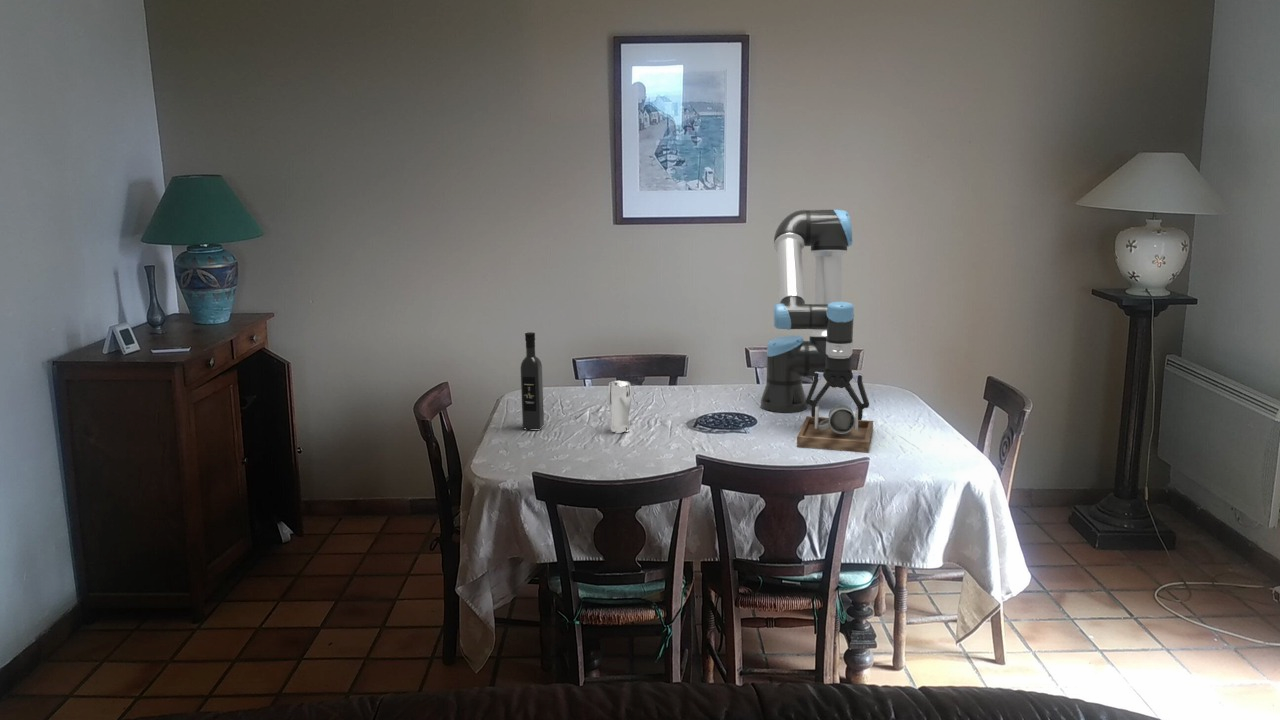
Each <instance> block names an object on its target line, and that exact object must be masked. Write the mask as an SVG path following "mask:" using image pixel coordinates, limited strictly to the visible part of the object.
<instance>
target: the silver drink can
mask: <svg viewBox="0 0 1280 720" xmlns="http://www.w3.org/2000/svg"><path fill="white" fill-rule="evenodd" d="M607 393H608V394H607V397H608V398H607V399H608V407H609V412H610V419H611V424H610V430H612V431H617V432H624V431H627V430H629V429H630V430H631V427H630V413H631V406H632V388H631V382H629V381H627V380H614V381H611V382H610V381H609V383H608V392H607Z"/></svg>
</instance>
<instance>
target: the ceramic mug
mask: <svg viewBox="0 0 1280 720" xmlns="http://www.w3.org/2000/svg"><path fill="white" fill-rule="evenodd" d="M827 418H828V419H826V420H824V421H822V422H820V423H819V424H818V428H819V430H826V429H829V428H831V429H832V430H833V431H834V432H836V433H838V434H846V433H849V432H850V431H851V430H852V429H853V428H854V426H855V421H856V420H855V413H854V412H853V410H852V408H851V407H849V406H848V405H845V404H837V405H834V406H833V407H832V408H831V409H830V410H829V413H828V417H827Z"/></svg>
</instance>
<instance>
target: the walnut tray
mask: <svg viewBox="0 0 1280 720" xmlns="http://www.w3.org/2000/svg"><path fill="white" fill-rule="evenodd" d="M828 418H829V417H823V416H818V424H819V423H820V422H822V421H824V420H826V419H828ZM800 427H801V428H800V430H799V432H798V434H797V436H796V447H797V448H805V449H807V448H808V449H816V450H817V449H819V450H820V449H821V450H830V451H831V450H833V451H842V452H843V451H846V452H856V453H858V452H859V453H869V451H870V448H871V447H870V446H871V441H872V436H873V432H874V421H873V420H867V419H866V420H865V419H862V420H858V431H857V432H855V426H854V428H853V429H852V430H851V431H850V432H849V433H846V434H838V433H836V432H834V431H833V430H832V429H831V428H829V429H826V430H819V428H817V429H815V417H812V416H806V417H805V419H804V422H803V423H802V425H801V426H800Z"/></svg>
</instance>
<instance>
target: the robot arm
mask: <svg viewBox="0 0 1280 720" xmlns="http://www.w3.org/2000/svg"><path fill="white" fill-rule="evenodd" d="M852 245H853V229H852V221H851V217H850V214H849V212H848V211H846V210H843V209H807V210H806V209H799V210H795V211H793V212H791V213H790V214H788V215H787V216H786V217H785V218H783V220H782V221H781V222H780V223H779V225H778V226H777V228H776V231H775V233H774V238H773V246H774V250H775V251H776V252H777V267H778V269H777V270H778V287H779V288H778V291H779V292H778V293H779V303H776V304H774V306H773V326H774V328H776V329H778V330H779V329H780V330H790V331H791V330H813V331H812V333H810V334H809V340H804V338H803V336H801V335H786V336H785V335H784V336H779V337H776V338H772V339H771V340H770V341H768V343H767V347H766V349H767V351H766V353H765V354H766V381H765V382H766V384H765V385H764V386H765V387H764V389H763V392H762V396H761V398H760V407H761V408H762V409H763V408H764V409H763V410H766V411H769V410H770V411H769V412H775V413H797V412H803V411H804V410H806V409H807V406H808V405H809V406H810V408H811V412H810V413H811V416H810V417H815V429H817V428H818V417H820V416H819V411H820V410H819V409H820V408H819V407H820V405H819V404H818V403H819V401H820V400H821V398H822V397H824V394H825V393H826V392H827V391H828V390H829V389H830V387H831V388H832V389H833V388H834V389H836V388H839V389H843V388H845V390H846V391H847V393H848V394H849V396H850V397H851V400H852V401H853V403H854V404H855V405H856V407H855V413H854V416H855V420H856V421H855V432H857V431H858V420H863V412H864V411H863V410H864V409H868V408H870V407H869V406H870V401H869V398H868V395H867V392H866V389H865V386H864V383H863V374H862V373H859V374H855V373H853V371H852V368H853V366H852V365H853V358H852V355H853V343H854V341H853V336H854V335H853V332H854V320H855V319H854V318H855V311H854V308H855V307H854V304H853V303H851V302H847V301H843V300H842V299H843V298H842V297H843V296H842V295H843V294H842V293H843V287H842V286H843V257H844V256H845V254H847V252H848V247H851V246H852ZM804 247H810V253H811V254H812V255H813V256H814V257H815V263H814V264H815V267H814V268H815V270H814V271H815V273H814V276H815V277H814V303H806V300H805V284H804V268H803V267H804V266H803V252H802V251H803V250H804ZM803 377H813V381H812V384H811V386H810V390H809V392H808V395H807V397H806V393H805V390H804V387H803ZM822 378H824V379H825V381H826V383H825V384H824V385H823V387H822V389H820V390H819V392H818V394H817V395H816V396H815V397H814V399H813V400H812V397H813V396H814V392H815V390H816V388H817V385H818V383H819V381H820V380H822ZM852 379H854V382H855V383H857V387H858V390H859V393H860V396H861V400H862V402H861V400H860V398H859V396H858V395H857V393H856V392H855V390H854V388H853V386H852V384H851V383H850V382H851V381H852Z"/></svg>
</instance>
